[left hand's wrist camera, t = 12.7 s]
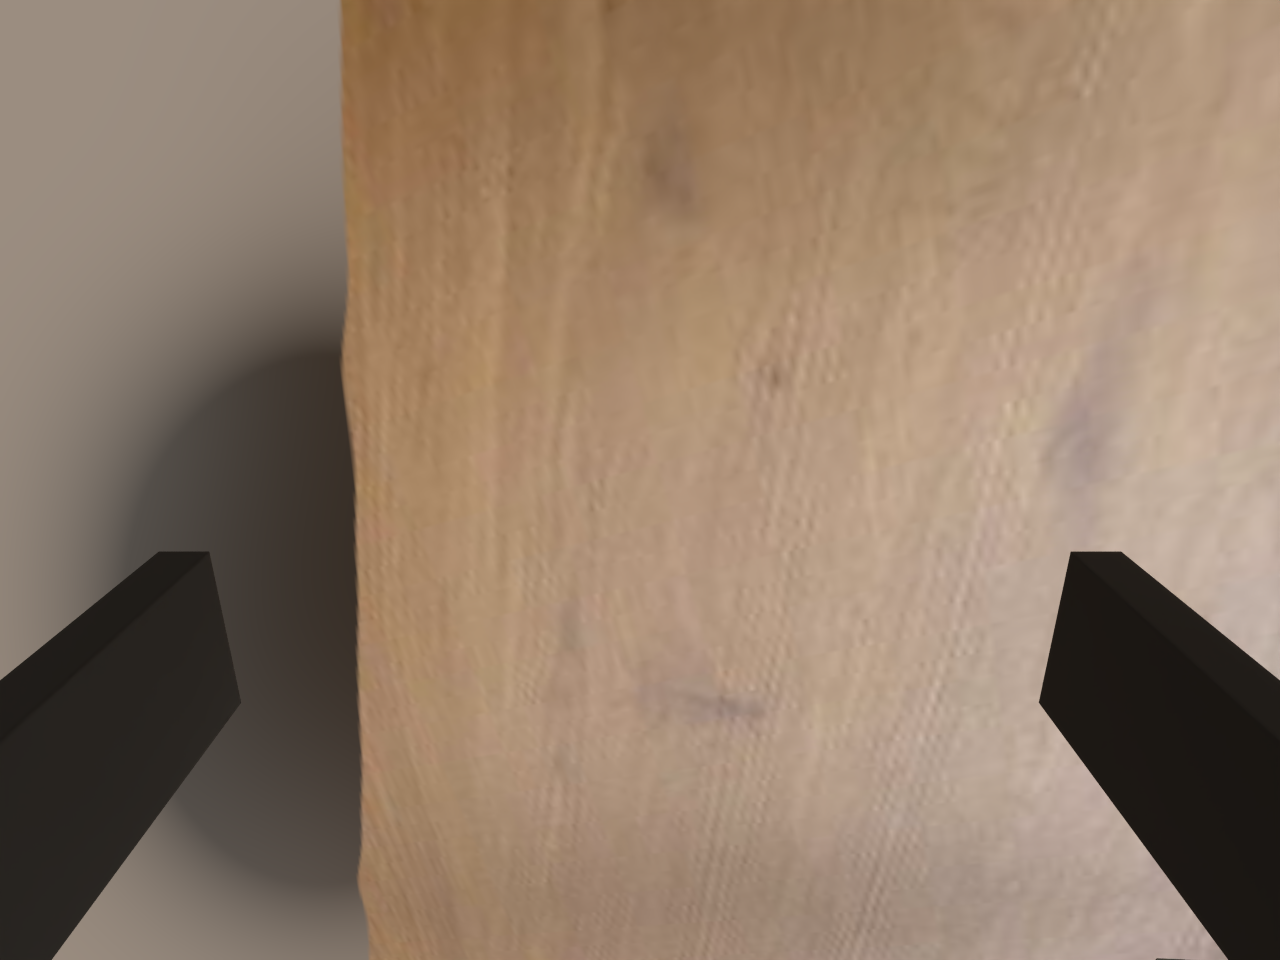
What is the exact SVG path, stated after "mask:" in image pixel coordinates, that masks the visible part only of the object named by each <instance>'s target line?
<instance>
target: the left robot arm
mask: <svg viewBox="0 0 1280 960" xmlns="http://www.w3.org/2000/svg"><path fill="white" fill-rule="evenodd" d="M240 703H241V700H240V695H239V690H238V686H237V681H236V676H235V671H234V667H233V662H232V657H231V653H230V648H229V643H228V638H227V634H226V629H225V624H224V619H223V615H222V610H221V605H220V601H219V596H218V591H217V586H216V582H215V577H214V572H213V567H212V563H211V558H210V553H209V552H158V553H157V554H155V555H154V556H153V557H152V558H151V559H149V560H148V561H147V562H146V563H144V564H143V565H142V566H141V567H139V568H138V569H137V570H136V571H135V572H133V573H132V574H131V575H130V576H128V577H127V578H126V579H125V580H123V581H122V582H121V583H120V584H118V585H117V586H116V587H115V588H114V589H112V590H111V591H110V592H109V593H107V594H106V595H105V596H104V597H103V598H101V599H100V600H99V601H98V602H96V603H95V604H94V605H93V606H91V607H90V608H89V609H88V610H86V611H85V612H84V613H83V614H82V615H80V616H79V617H78V618H77V619H75V620H74V621H73V622H72V623H71V624H69V625H68V626H67V627H66V628H64V629H63V630H62V631H61V632H59V633H58V634H57V635H56V636H54V637H53V638H52V639H51V640H49V641H48V642H47V643H46V644H45V645H43V646H42V647H41V648H40V649H38V650H37V651H36V652H35V653H33V654H32V655H31V656H30V657H29V658H27V659H26V660H25V661H24V662H22V663H21V664H20V665H19V666H17V667H16V668H15V669H14V670H13V671H11V672H10V673H9V674H8V675H6V676H5V677H4V678H3V679H1V680H0V960H52V959H53V957H54V956H55V954H56V953H57V952H58V950H59V949H60V948H61V946H62V945H63V944H64V942H65V941H66V940H67V938H68V937H69V935H70V934H71V933H72V931H73V930H74V929H75V927H76V926H77V925H78V923H79V922H80V921H81V919H82V918H83V916H84V915H85V914H86V912H87V911H88V910H89V908H90V907H91V906H92V904H93V903H94V901H95V900H96V899H97V897H98V896H99V895H100V893H101V892H102V891H103V889H104V888H105V887H106V885H107V884H108V882H109V881H110V880H111V878H112V877H113V876H114V874H115V873H116V872H117V870H118V869H119V868H120V866H121V865H122V863H123V862H124V861H125V859H126V858H127V857H128V855H129V854H130V853H131V851H132V850H133V849H134V847H135V846H136V845H137V843H138V842H139V840H140V839H141V838H142V836H143V835H144V834H145V832H146V831H147V830H148V828H149V827H150V826H151V824H152V823H153V821H154V820H155V819H156V817H157V816H158V815H159V813H160V812H161V811H162V809H163V808H164V807H165V805H166V804H167V802H168V801H169V800H170V798H171V797H172V796H173V794H174V793H175V792H176V790H177V789H178V788H179V786H180V785H181V783H182V782H183V781H184V779H185V778H186V777H187V775H188V774H189V773H190V771H191V770H192V769H193V767H194V766H195V764H196V763H197V762H198V760H199V759H200V758H201V756H202V755H203V754H204V752H205V751H206V749H207V748H208V747H209V745H210V744H211V743H212V741H213V740H214V739H215V737H216V736H217V735H218V733H219V732H220V730H221V729H222V728H223V726H224V725H225V724H226V722H227V721H228V720H229V718H230V717H231V716H232V714H233V713H234V712H235V710H236V709H237V707H238V706H239V705H240ZM1039 703H1040V705H1041V706H1042V707H1043V709H1044V710H1045V712H1046V713H1047V714H1048V716H1049V717H1050V718H1051V720H1052V721H1053V722H1054V724H1055V725H1056V726H1057V728H1058V729H1059V731H1060V732H1061V733H1062V735H1063V736H1064V737H1065V739H1066V740H1067V741H1068V743H1069V744H1070V745H1071V747H1072V748H1073V750H1074V751H1075V752H1076V754H1077V755H1078V756H1079V758H1080V759H1081V760H1082V762H1083V763H1084V764H1085V766H1086V767H1087V769H1088V770H1089V771H1090V773H1091V774H1092V775H1093V777H1094V778H1095V779H1096V781H1097V782H1098V783H1099V785H1100V786H1101V788H1102V789H1103V790H1104V792H1105V793H1106V794H1107V796H1108V797H1109V798H1110V800H1111V801H1112V802H1113V804H1114V805H1115V807H1116V808H1117V809H1118V811H1119V812H1120V813H1121V815H1122V816H1123V817H1124V819H1125V820H1126V821H1127V823H1128V824H1129V826H1130V827H1131V828H1132V830H1133V831H1134V832H1135V834H1136V835H1137V836H1138V838H1139V839H1140V840H1141V842H1142V843H1143V845H1144V846H1145V847H1146V849H1147V850H1148V851H1149V853H1150V854H1151V855H1152V857H1153V858H1154V859H1155V861H1156V862H1157V864H1158V865H1159V866H1160V868H1161V869H1162V870H1163V872H1164V873H1165V874H1166V876H1167V877H1168V878H1169V880H1170V881H1171V883H1172V884H1173V885H1174V887H1175V888H1176V889H1177V891H1178V892H1179V893H1180V895H1181V896H1182V897H1183V899H1184V900H1185V902H1186V903H1187V904H1188V906H1189V907H1190V908H1191V910H1192V911H1193V912H1194V914H1195V915H1196V916H1197V918H1198V919H1199V921H1200V922H1201V923H1202V925H1203V926H1204V927H1205V929H1206V930H1207V931H1208V933H1209V934H1210V935H1211V937H1212V938H1213V940H1214V941H1215V942H1216V944H1217V945H1218V946H1219V948H1220V949H1221V950H1222V952H1223V953H1224V954H1225V956H1226V957H1227V959H1228V960H1280V680H1279V679H1277V678H1276V677H1275V676H1274V675H1272V674H1271V673H1270V672H1269V671H1267V670H1266V669H1265V668H1264V667H1263V666H1261V665H1260V664H1259V663H1258V662H1256V661H1255V660H1254V659H1253V658H1251V657H1250V656H1249V655H1248V654H1247V653H1245V652H1244V651H1243V650H1242V649H1240V648H1239V647H1238V646H1237V645H1235V644H1234V643H1233V642H1232V641H1231V640H1229V639H1228V638H1227V637H1226V636H1224V635H1223V634H1222V633H1221V632H1219V631H1218V630H1217V629H1216V628H1214V627H1213V626H1212V625H1211V624H1210V623H1208V622H1207V621H1206V620H1205V619H1203V618H1202V617H1201V616H1200V615H1198V614H1197V613H1196V612H1195V611H1194V610H1192V609H1191V608H1190V607H1189V606H1187V605H1186V604H1185V603H1184V602H1182V601H1181V600H1180V599H1179V598H1178V597H1176V596H1175V595H1174V594H1173V593H1171V592H1170V591H1169V590H1168V589H1166V588H1165V587H1164V586H1163V585H1162V584H1160V583H1159V582H1158V581H1157V580H1155V579H1154V578H1153V577H1152V576H1150V575H1149V574H1148V573H1147V572H1146V571H1144V570H1143V569H1142V568H1141V567H1139V566H1138V565H1137V564H1136V563H1134V562H1133V561H1132V560H1131V559H1129V558H1128V557H1127V556H1126V555H1125V554H1123V553H1122V552H1071V553H1070V558H1069V563H1068V567H1067V572H1066V577H1065V582H1064V586H1063V591H1062V596H1061V601H1060V605H1059V610H1058V615H1057V619H1056V624H1055V629H1054V634H1053V638H1052V643H1051V648H1050V653H1049V657H1048V662H1047V667H1046V671H1045V676H1044V681H1043V686H1042V690H1041V695H1040V700H1039Z"/></svg>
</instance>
